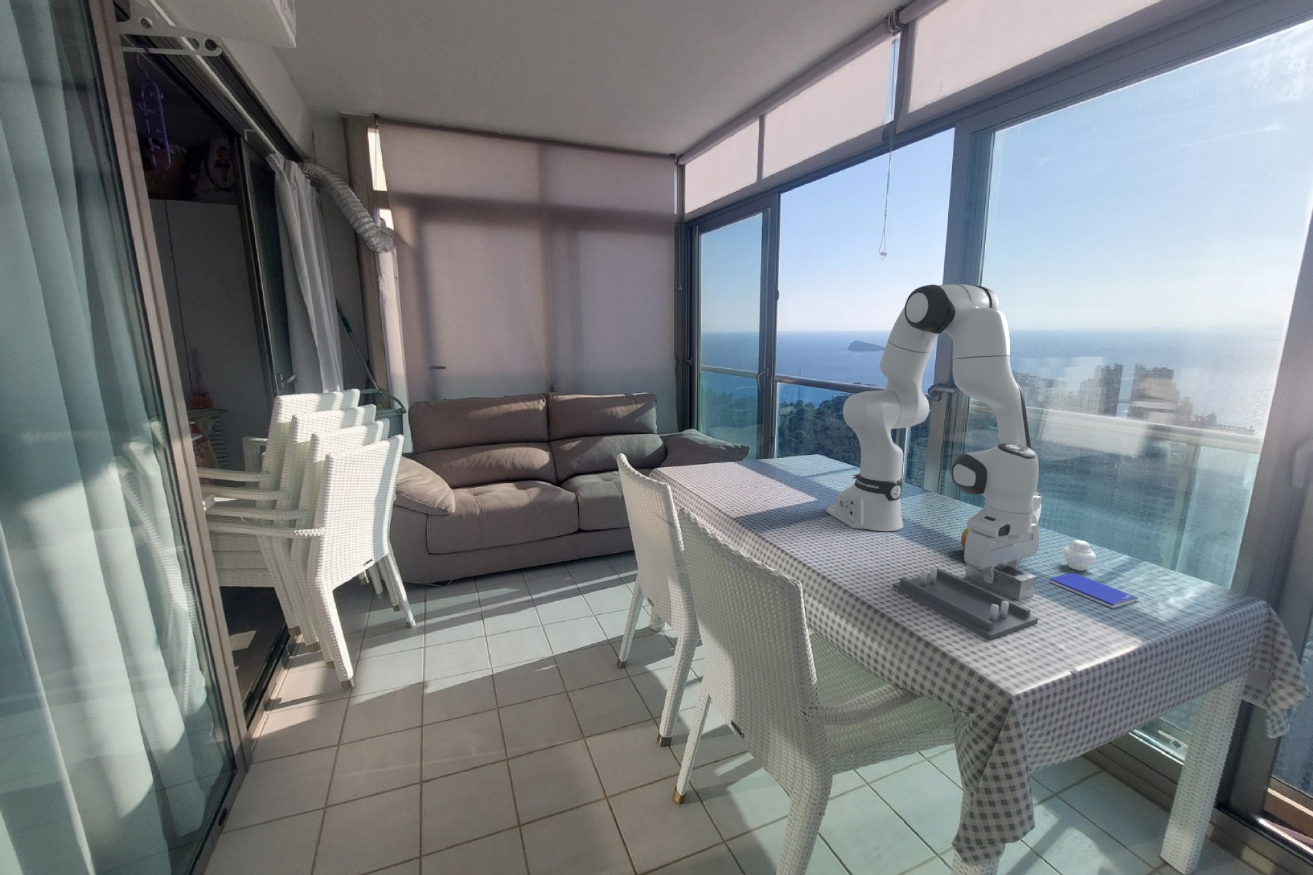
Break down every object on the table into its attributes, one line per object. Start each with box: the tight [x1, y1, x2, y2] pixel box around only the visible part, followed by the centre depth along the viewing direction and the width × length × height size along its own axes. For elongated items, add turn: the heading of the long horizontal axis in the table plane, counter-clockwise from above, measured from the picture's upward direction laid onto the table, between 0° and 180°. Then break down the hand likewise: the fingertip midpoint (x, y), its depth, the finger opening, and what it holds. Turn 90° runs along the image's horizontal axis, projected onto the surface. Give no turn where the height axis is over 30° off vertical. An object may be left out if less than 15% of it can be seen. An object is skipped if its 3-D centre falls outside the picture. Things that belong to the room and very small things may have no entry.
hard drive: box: [1049, 572, 1139, 609], centre depth 115 cm, size 2×8×12 cm
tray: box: [892, 568, 1039, 641], centre depth 109 cm, size 22×14×4 cm, turn 25°
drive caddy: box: [964, 563, 1037, 601], centre depth 117 cm, size 12×5×5 cm, turn 24°
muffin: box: [1062, 539, 1097, 572], centre depth 126 cm, size 6×6×7 cm
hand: (998, 578), depth 117 cm, fingers closed on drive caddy, 5 cm apart
